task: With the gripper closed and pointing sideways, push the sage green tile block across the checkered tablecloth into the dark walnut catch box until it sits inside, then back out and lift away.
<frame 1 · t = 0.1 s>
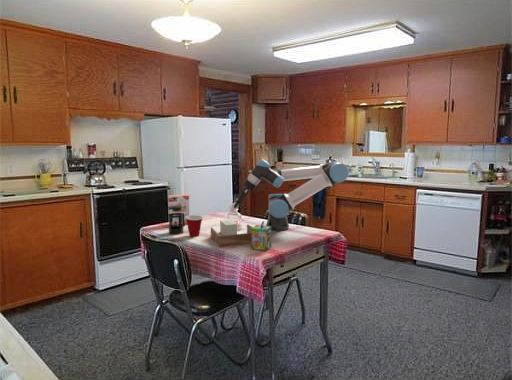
hand: (232, 209, 228), 15 cm above the table, tool tilted 35°, fingers open, 13 cm apart
french press: (176, 232, 234), on the table
tile block: (228, 234, 228), on the table
chalk box: (261, 248, 199), on the table
cracker box: (179, 225, 256), on the table
plastic cup: (194, 235, 226), on the table
catch box: (234, 239, 215), on the table
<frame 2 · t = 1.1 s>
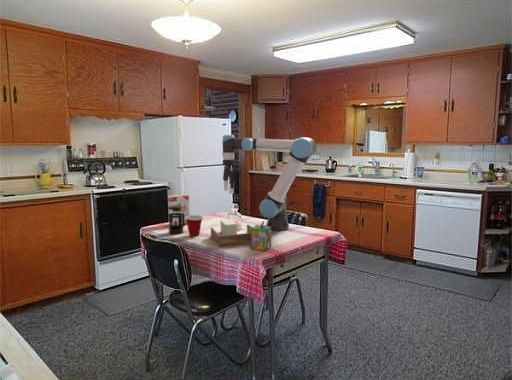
hand: (228, 192, 238), 25 cm above the table, tool pointing down, fingers open, 13 cm apart
nothing on the table moved.
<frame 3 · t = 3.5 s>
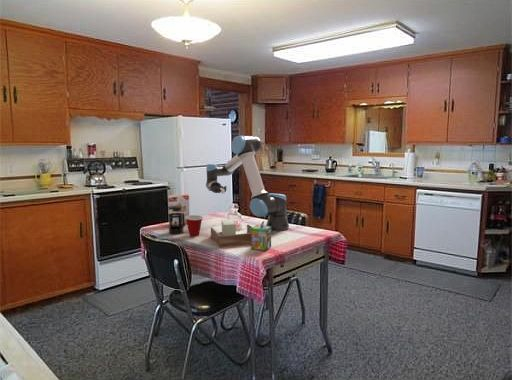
hand: (223, 191, 235), 26 cm above the table, tool horizontal, fingers closed
nothing on the table moved.
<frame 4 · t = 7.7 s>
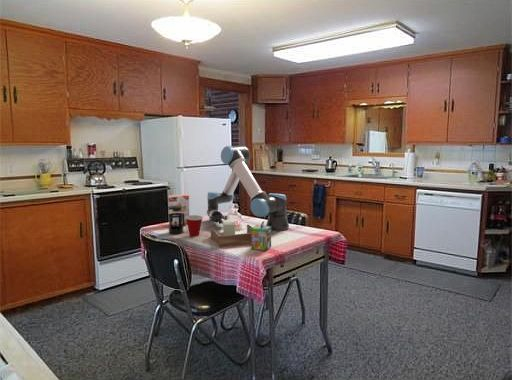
hand: (224, 222, 234), 6 cm above the table, tool horizontal, fingers closed
tile block: (229, 234, 227), on the table, touching gripper
everything else where it was.
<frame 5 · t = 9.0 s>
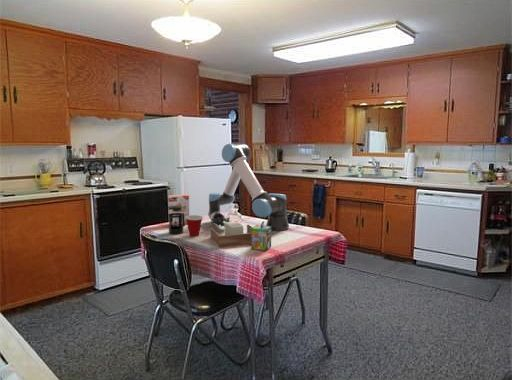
hand: (226, 225, 227), 6 cm above the table, tool horizontal, fingers closed
tile block: (233, 237, 222), on the table, touching gripper
everything else where it was.
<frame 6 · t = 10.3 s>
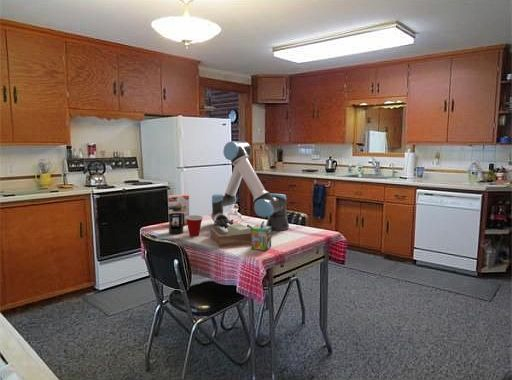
hand: (230, 227, 220), 6 cm above the table, tool horizontal, fingers closed
tile block: (239, 239, 216), on the table, touching gripper
everything else where it was.
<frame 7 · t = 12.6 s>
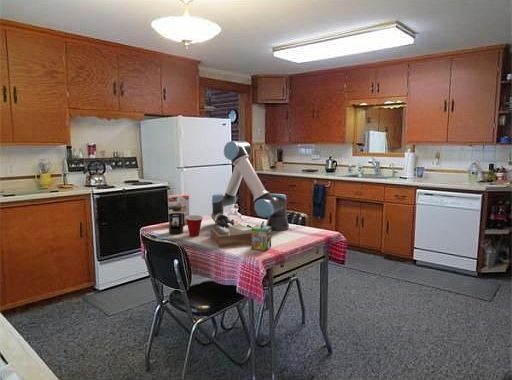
hand: (231, 227, 220), 6 cm above the table, tool horizontal, fingers closed
tile block: (241, 240, 214), on the table
everything else where it was.
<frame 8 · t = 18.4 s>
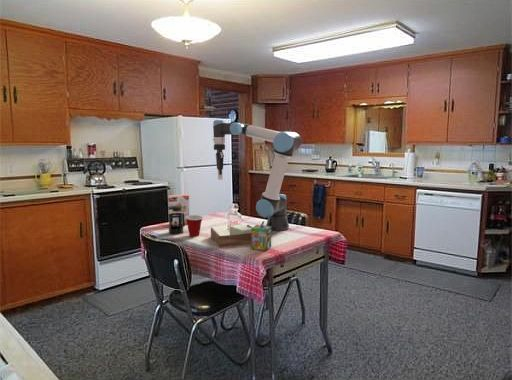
hand: (220, 179, 244), 32 cm above the table, tool pointing down, fingers closed
nothing on the table moved.
at the end: tile block 4.0 cm from the catch box (horizontally); tile block moved 16.6 cm from its start; tile block on the table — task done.
